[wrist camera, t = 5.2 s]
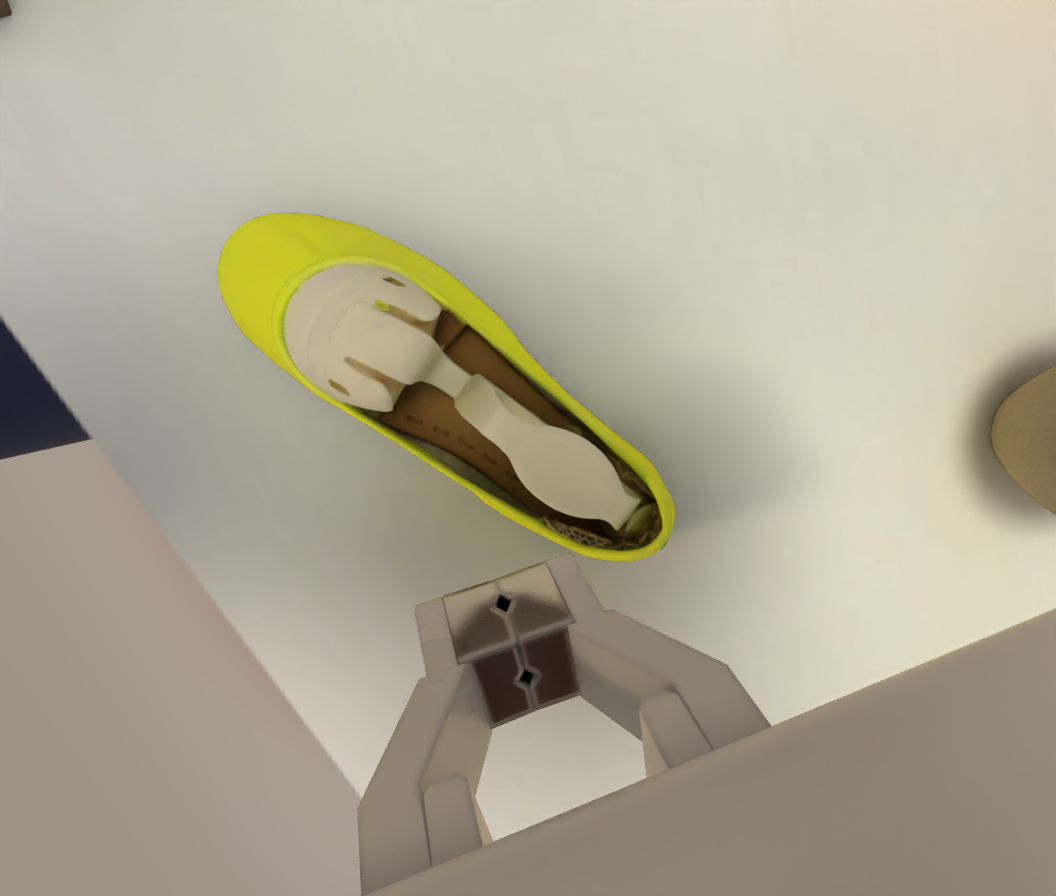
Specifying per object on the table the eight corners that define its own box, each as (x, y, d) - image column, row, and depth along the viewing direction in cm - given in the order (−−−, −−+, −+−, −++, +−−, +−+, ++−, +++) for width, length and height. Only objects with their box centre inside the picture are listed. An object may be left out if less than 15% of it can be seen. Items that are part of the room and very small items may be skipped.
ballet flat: (295, 162, 28) (224, 86, 20) (689, 456, 32) (760, 491, 24) (200, 304, 29) (95, 286, 21) (599, 576, 33) (639, 649, 25)
